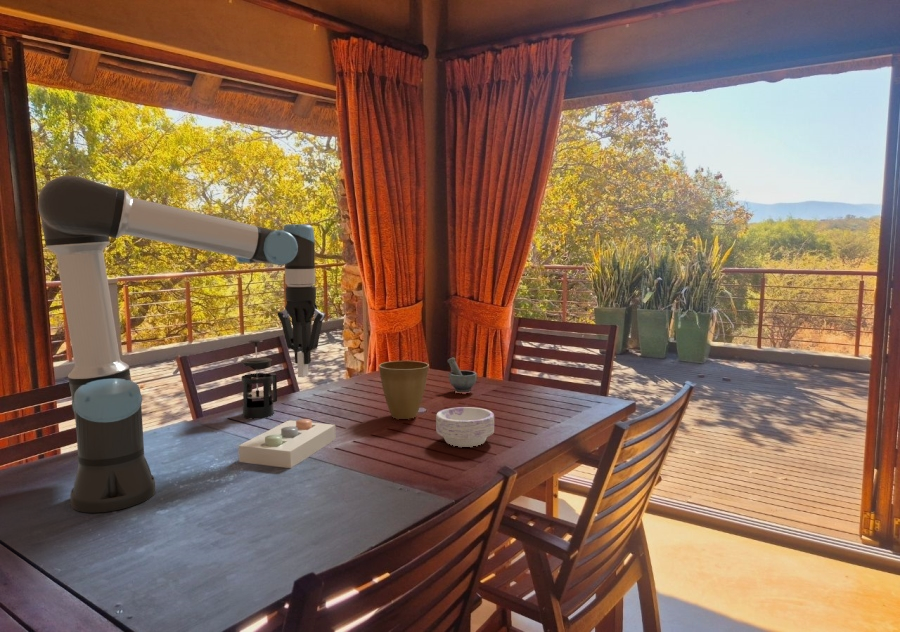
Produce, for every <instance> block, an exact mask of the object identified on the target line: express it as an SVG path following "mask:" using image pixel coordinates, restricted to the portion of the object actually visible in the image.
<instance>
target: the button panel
mask: <svg viewBox="0 0 900 632" xmlns="http://www.w3.org/2000/svg"><path fill="white" fill-rule="evenodd" d="M296 421H297V420H290V419H289V420H287V421H285V422H283V423H281V424H278V425H277V426H274V427H273V428H271V429H268V430H267V431H265V432H263V433H260V434H259V435H257V436H254V437H253V438H250V439H249V440H247V441H245V442H243V443H241V444H239V445H238V462H239V463H244V464H253V465H261V466H269V467H277V468H285V469H286V468H287V469H292V468H293V467H296V466H297V465H298V464H300V463H302V462H303V461H304V460H306V459H308V458H309V457H311V456H313V455H314V454H315V453H317V452H318V451H320V450H321V449H323V448H324V447H327V446H328V445H329V444H331V443H333V442H334V441H336V440H335V439H336V437H337V436H336V424H330V423H321V422H312V428H310V429H308V430H302V429H298V436H296V437H294V438H286V437H282V445H280V446H278V447H271V446H265V437H266V436H269V435H281V429H282V428H284V427H290V426H293V427H296Z"/></svg>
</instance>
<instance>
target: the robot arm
mask: <svg viewBox="0 0 900 632" xmlns="http://www.w3.org/2000/svg"><path fill="white" fill-rule="evenodd" d="M37 209H38V214H39V217H40V219H41V226H42V232H43V233H42V234H43V237H44V238H43V239H44V242H45V243H44V244H45V248H46V249H48V250H49V251H51V252H52V253H53V254H55V256H56V263H57V268H58V274H59V279H60V285H61V286H60V287H61V291H62V292H61V293H62V299H63V304H64V310H65V317H66V321H67V328H68V334H69V340H70V345H71V350H72V357H73V361H74V362H73V363H74V364H73V365H74V367H73V368H72V370H71V371H70V372H69V373H68V375H67V376H68V383H69V384H68V385H69V388H70V394H71V407H72V411H73V413H74V415H73V416H74V421H75V432H76V434H75V435H76V445H77V460H78V467H77V470H76V471H77V472H76V475H75V479H74V484H73V488H71V491H70V495H69V497H70V499H69V500H70V507H71V508H72V509H73V510H75V511H78V512H80V513H89V514H90V513H92V514H93V513H107V512H114V511H119V510H123V509H127V508H132V507H134V506H136V505H139V504H141V503H144V502H146V501H147V500H149V499H150V498H152V497H153V496H154V494H155V493H156V491H157V489H156V480H155V476H154V475H153V474H152V471H151V469H150V465H149V463H148V461H147V459H146V457H145V447H144V445H145V443H144V429H143V413H142V412H143V411H142V410H143V409H142V408H143V407H142V403H143V396H142V393H141V388H140V385H139V384H137V383H136V382H135V381H133V380H132V377H131V371H130V365H129V364H128V363H126V362H124V361H123V360H121V357H120V350H119V345H118V339H117V338H118V337H117V332H116V325H115V319H114V318H115V317H114V314H113V313H114V312H113V311H114V310H113V304H112V299H111V293H110V287H109V280H108V279H109V278H108V273H107V267H106V262H105V260H106V259H105V254H104V250H105V249H106V248H108V246H109V245H110V243H111V242H110V238H114V239H118V238H120V237H122V236H128V237H135V238H139V239H145V240H149V241H150V240H152V241H155V242H161V243H166V244H170V245H176V246H181V247H186V248H192V249H197V250H201V251H206V252H207V251H208V252H213V253H217V254H223V255H227V256H233V257H235V260H236V261H237V262H238V263H240V264H250V265H251V264H270V265H271V264H272V265H277V266H283V265H284V282H285V283H284V284H285V285H287V286H286V287H285V288H284V289H285V300H286V305H285V309H283V310H282V311H279V312H277V314H276V315H277V317H278V318H279V320H280V322H281V327H282V330H283V335H284V339H285V344H286V348H287V349H289V350H291V351H293V352H294V363H295V364H297V378H305V377H308V376H309V364H311V362H312V360H311V358H312V357H311V356H312V354H311V352H312V351H313V350H315V349H317V348H318V346H319V343H320V342H319V341H320V335H321V331H322V325H323V322H324V320H325V318H326V316H327V315H326V313H325V312H321V310H318V305H317V304H316V303H317V302H316V300H317V290H316V288H317V287H316V286H314V285H315V284H316V264H315V263H316V260H315V259H316V258H315V257H316V256H315V255H316V254H315V253H316V252H315V251H316V250H315V249H316V240H315V232H314V231H315V230H314V227H313V226H312V225H310V224H304V223H303V224H300V223H299V224H289V223H288V224H285V225H284V226H283V230H281V229H276V230H275V229H271V228H266V227H261V226H256V225H254V224H249V223H244V222H240V221H236V220H231V219H228V218H224V217H223V218H222V217H218V216H214V215H211V214H206V213H201V212H198V211H192V210H189V209H184V208H179V207H176V206H170V205H166V204H162V203H159V202H158V203H157V202H153V201H149V200H146V199H141V198H136V197H132V196H131V195H130V194H129V193H128V192H127V190H125V189H120V188H116V187H113V186H109V185H105V184H103V183H99V182H97V181H93V180H92V179H88V178H85V177H81V176H77V175H63V176H59V177H56V178H53V179H52V180H50V181H49V182H47V183H46V184H45V185H44V186H43V187H42V188H41V190H40V191H39V195H38V200H37ZM313 319H314V320H313ZM312 320H313V323H312ZM311 325H312V326H311Z"/></svg>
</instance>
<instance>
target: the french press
mask: <svg viewBox="0 0 900 632" xmlns="http://www.w3.org/2000/svg"><path fill="white" fill-rule="evenodd" d="M263 342H264V340H262V339H252V340H251V339H250V340H249V341H248V343H251V344H253V345H254V346H253V347H255V357H251V358H245V359H241V360H240V363H241V365H242V367H243V368H245V367H250V368H251V369H253V370H255V372H254V373H248V374H247V373H246V374H244V375H242V376H241V378H240V379H241V383H242V396H243V397H242V402H243V404H242V413H241V416H242V418H244V419H248V418H252V419H251V420H255V419H254V418H260V419H265V418H264V417H266V418H269V417H268V416H270V417H272V416H273V414H274V415H275V411H274V403H276V402H278V387H277V386H278V385H277V384H278V383H277V382H278V381H277V379H278V378H277V374H276V373H272V372H271V373H266V372H265V373H264V372H259V371H258V370H260V371H261V370H266V369H269V368H271V366H272V365H271V363H272V361H273V359H272V358H269V357H258V348H257V347H259V345H258V343H263ZM252 384H254V385H255V384H256V390H255V391H253V390H252V389H253V388H252V387H253V385H252ZM259 384H262V385H263V386H262V388H263V389H262V390H259ZM271 415H272V416H271Z"/></svg>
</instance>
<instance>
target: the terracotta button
mask: <svg viewBox="0 0 900 632" xmlns="http://www.w3.org/2000/svg"><path fill="white" fill-rule="evenodd" d="M295 421H296V427H297V428H298V429H302V430H308V429H310V428H312V423H313V421H312V419H309V418H301V419H297V420H295Z"/></svg>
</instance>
